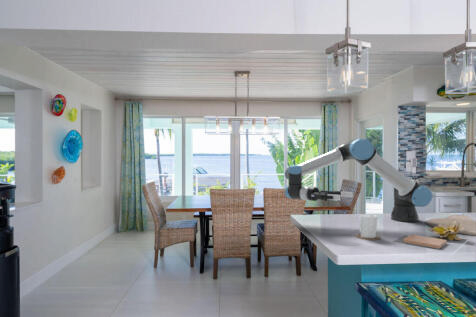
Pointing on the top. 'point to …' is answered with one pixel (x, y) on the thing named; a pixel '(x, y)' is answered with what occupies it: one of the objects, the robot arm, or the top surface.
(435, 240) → the tile
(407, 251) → the top surface
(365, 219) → the white cup
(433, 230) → the decorative flower
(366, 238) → the coaster
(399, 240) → the mat
